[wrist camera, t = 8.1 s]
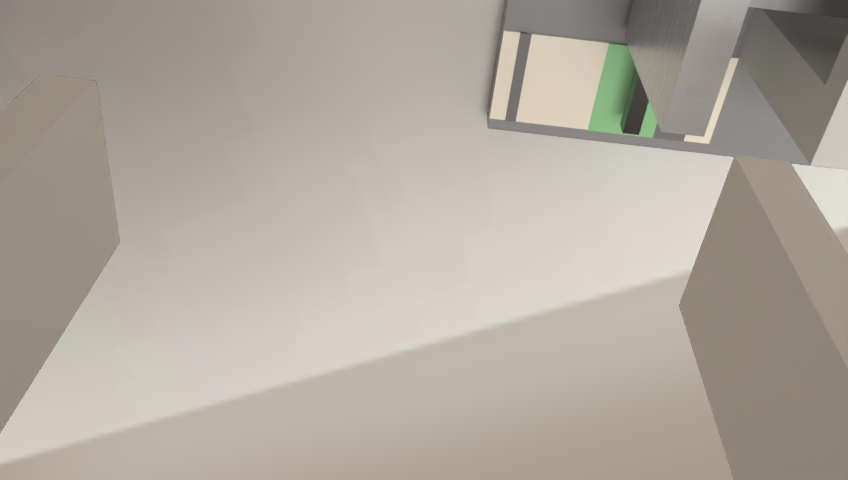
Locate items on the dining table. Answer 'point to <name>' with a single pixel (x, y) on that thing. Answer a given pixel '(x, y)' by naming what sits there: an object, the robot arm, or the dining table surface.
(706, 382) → the robot arm
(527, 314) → the dining table surface
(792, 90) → the gauge base
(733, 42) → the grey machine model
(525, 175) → the dining table surface
